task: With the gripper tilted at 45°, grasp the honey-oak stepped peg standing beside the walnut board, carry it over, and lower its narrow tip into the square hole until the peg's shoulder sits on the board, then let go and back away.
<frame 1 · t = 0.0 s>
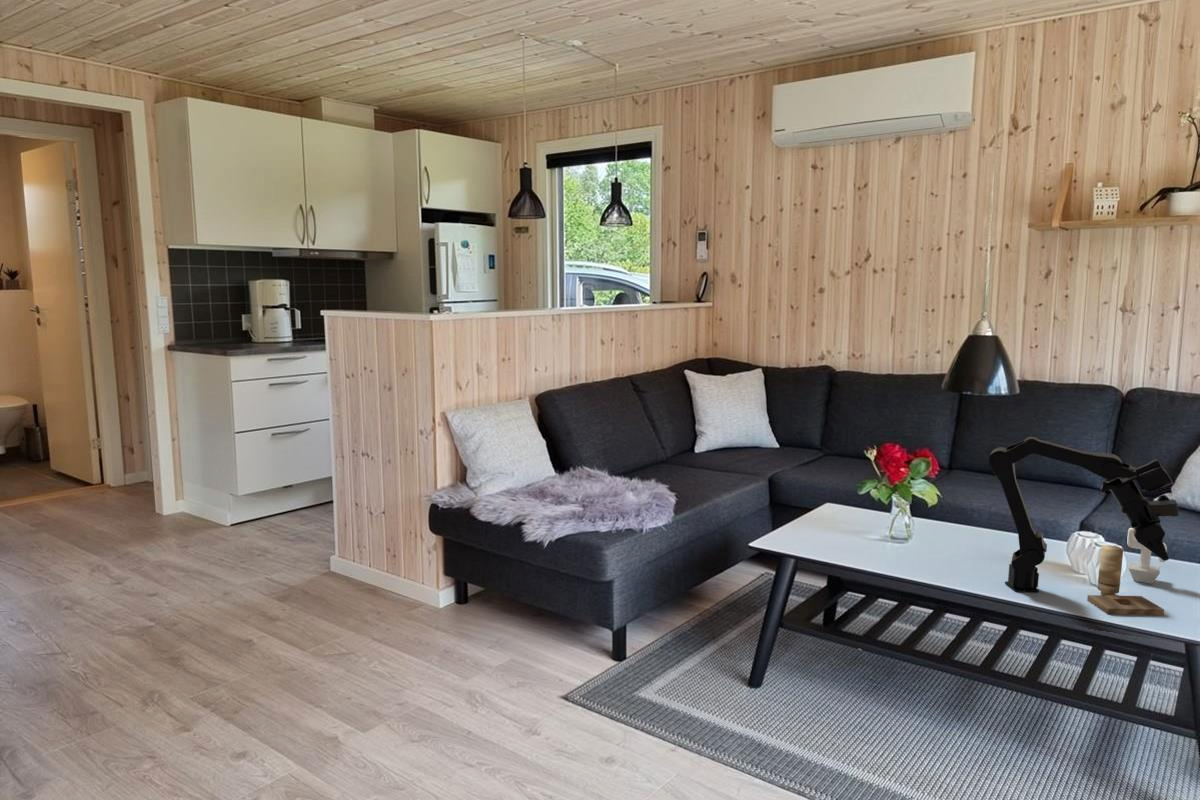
hand: (1164, 554, 207), 15 cm above the table, tool tilted 35°, fingers open, 9 cm apart
oak peg: (1107, 594, 220), on the table
figurine: (1143, 580, 231), on the table
walnut board: (1124, 607, 211), on the table
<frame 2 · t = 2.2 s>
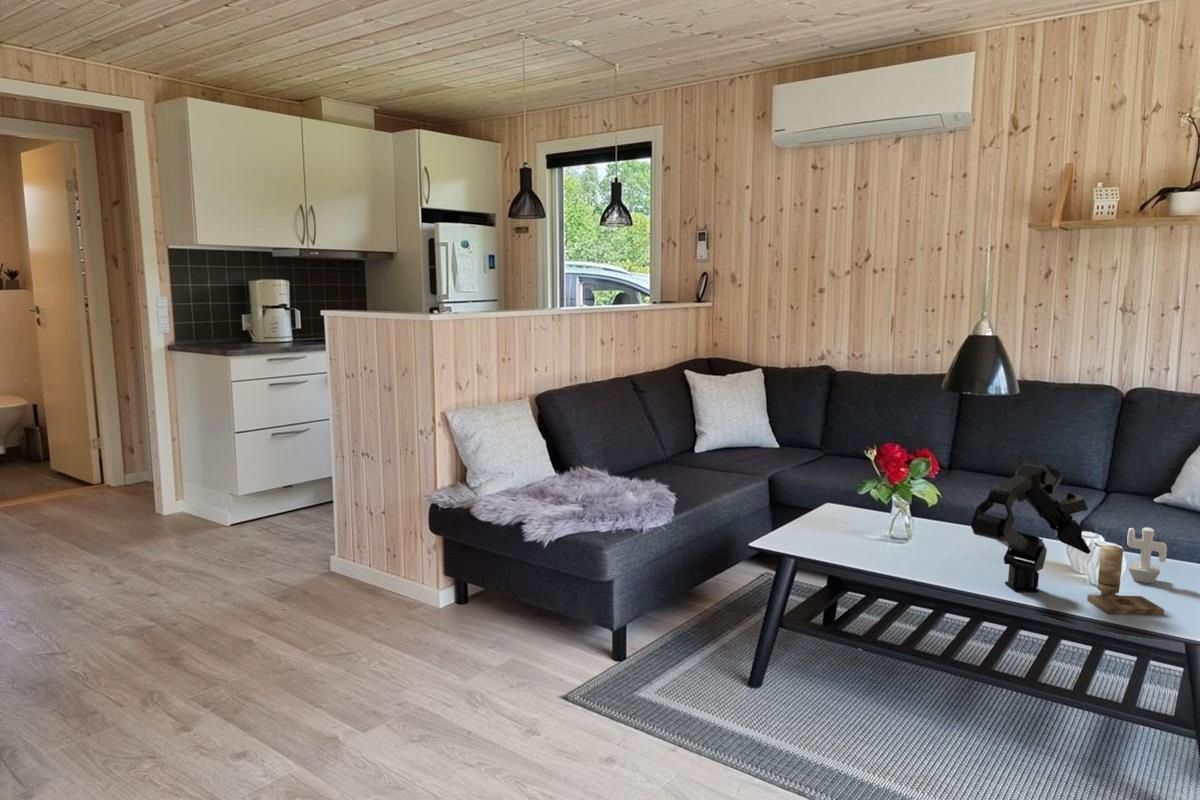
hand: (1085, 547, 221), 12 cm above the table, tool tilted 45°, fingers open, 9 cm apart
nothing on the table moved.
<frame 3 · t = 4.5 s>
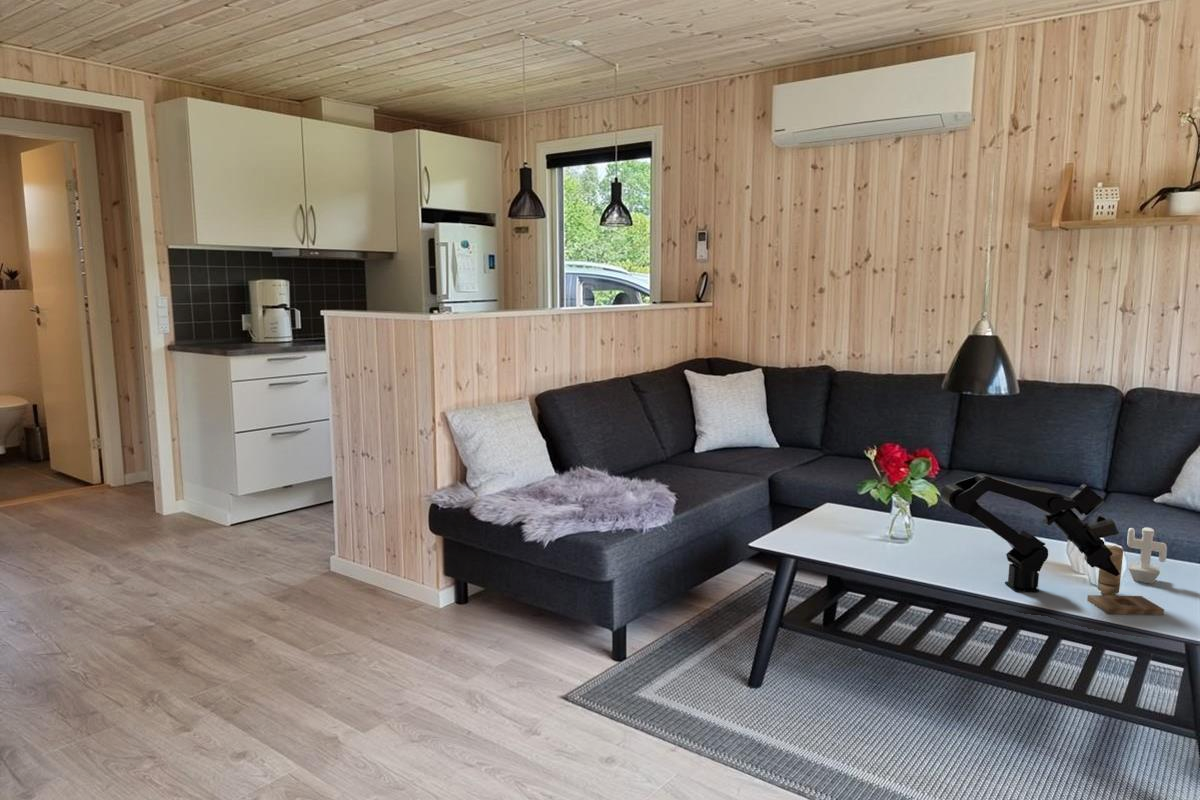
hand: (1116, 571, 218), 7 cm above the table, tool tilted 45°, fingers closed on oak peg, 5 cm apart
oak peg: (1107, 594, 220), on the table, touching gripper
everything else where it was.
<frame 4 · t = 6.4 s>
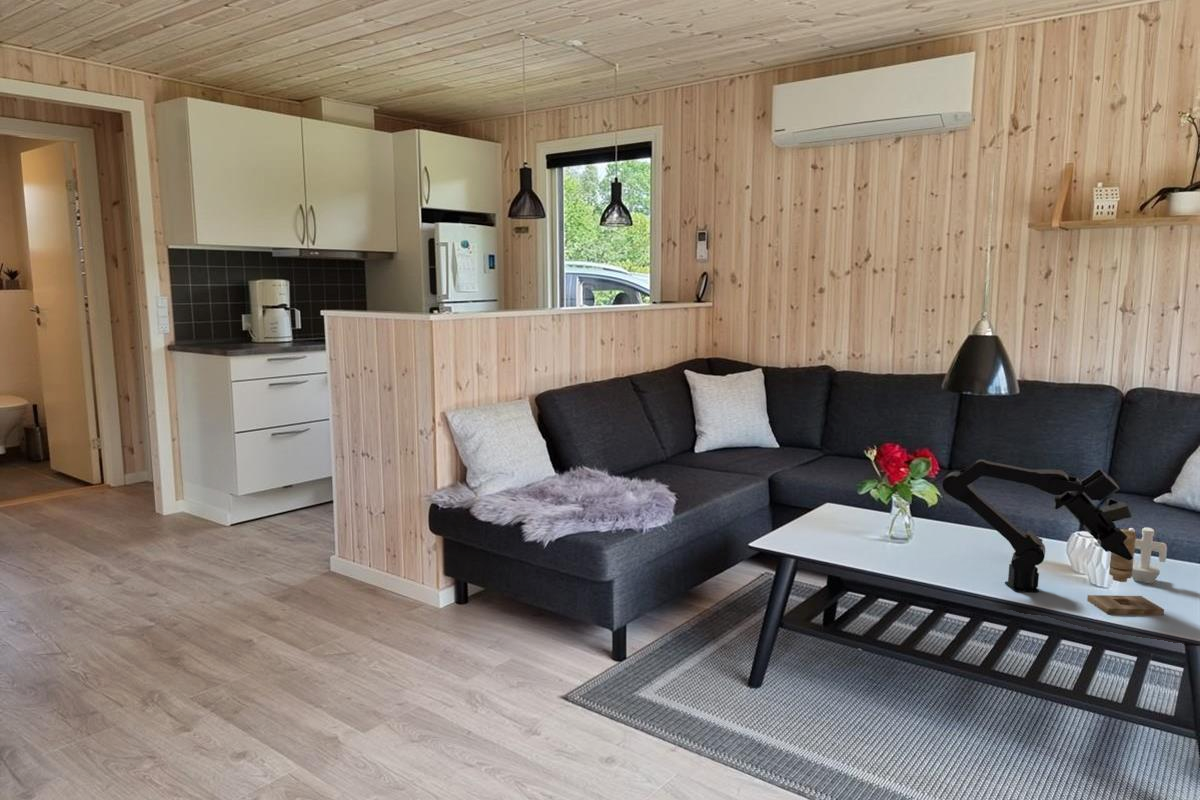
hand: (1128, 556, 213), 13 cm above the table, tool tilted 45°, fingers closed on oak peg, 5 cm apart
oak peg: (1119, 579, 214), point 6 cm above the table, touching gripper
everything else where it was.
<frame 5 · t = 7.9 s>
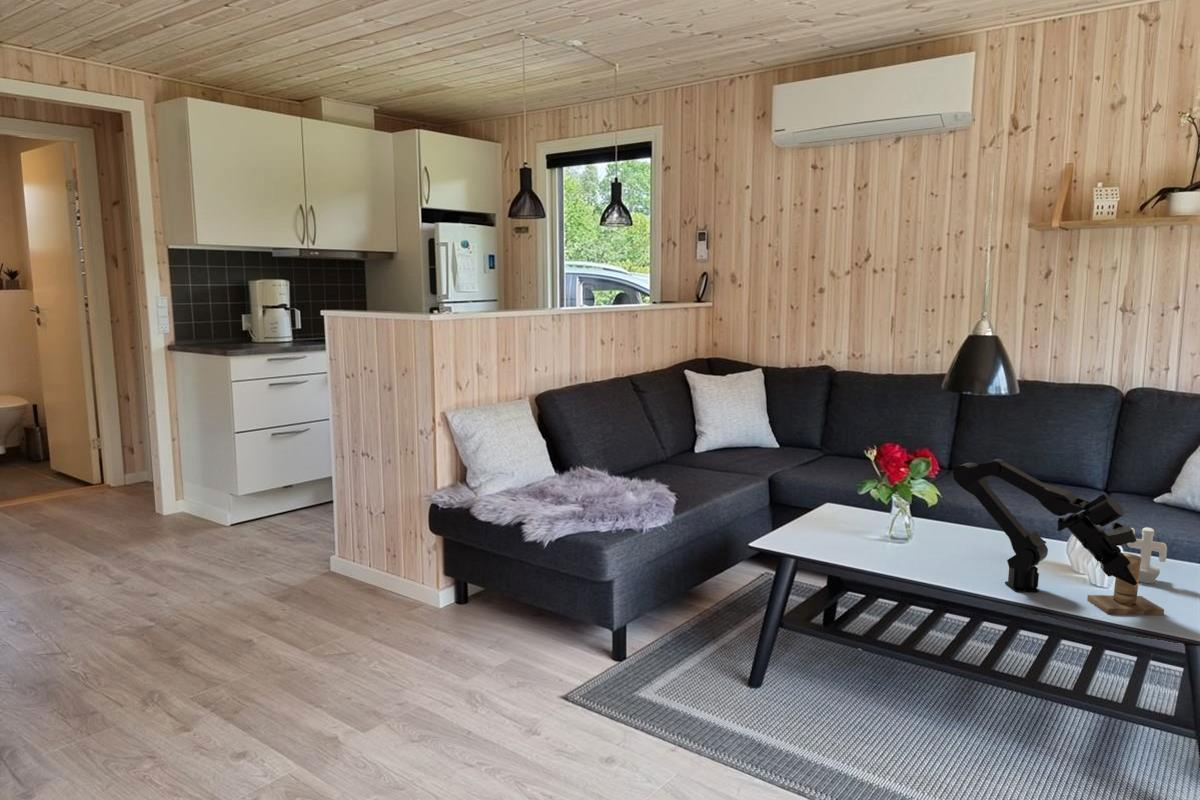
hand: (1133, 580, 209), 7 cm above the table, tool tilted 45°, fingers closed on oak peg, 5 cm apart
oak peg: (1124, 604, 211), point 1 cm above the table, touching gripper
everything else where it was.
when the fingers open (7 cm above the table, at t = 8.4 s): oak peg stays where it is, resting on walnut board.
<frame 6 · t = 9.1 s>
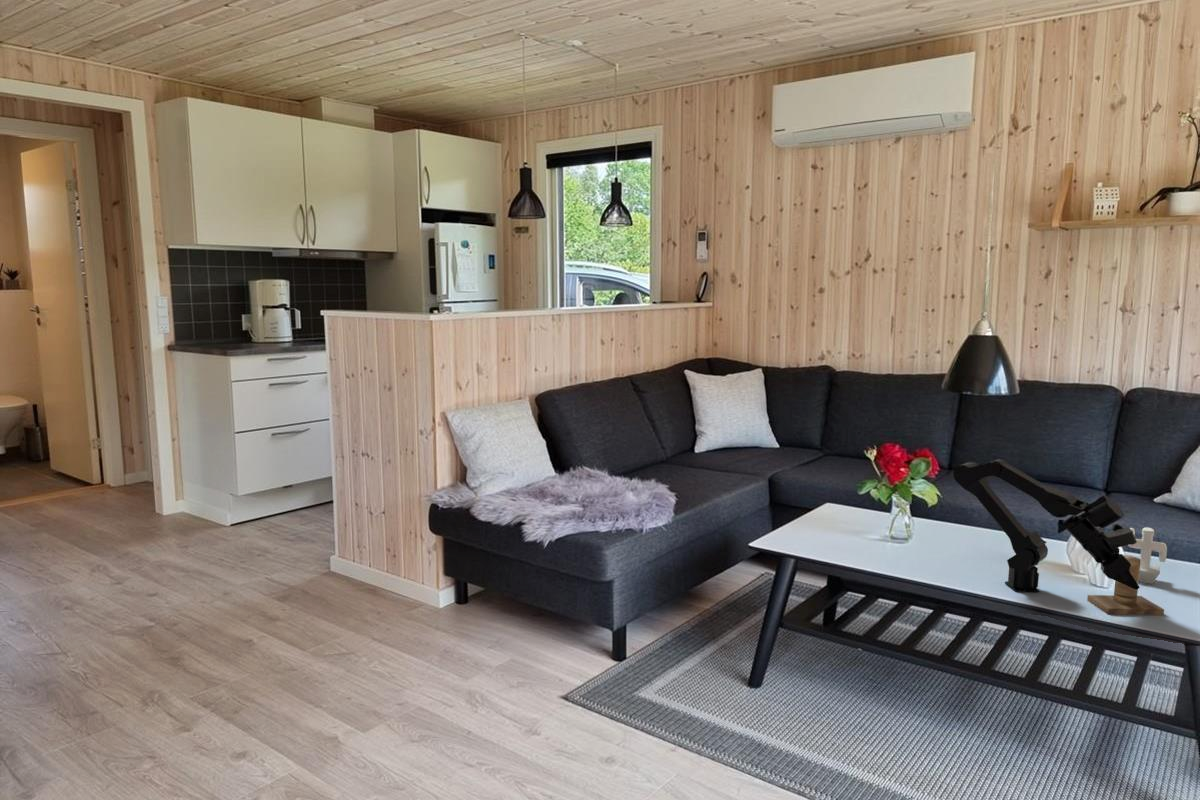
hand: (1133, 582, 209), 7 cm above the table, tool tilted 45°, fingers open, 9 cm apart
oak peg: (1124, 606, 211), resting on walnut board
everything else where it was.
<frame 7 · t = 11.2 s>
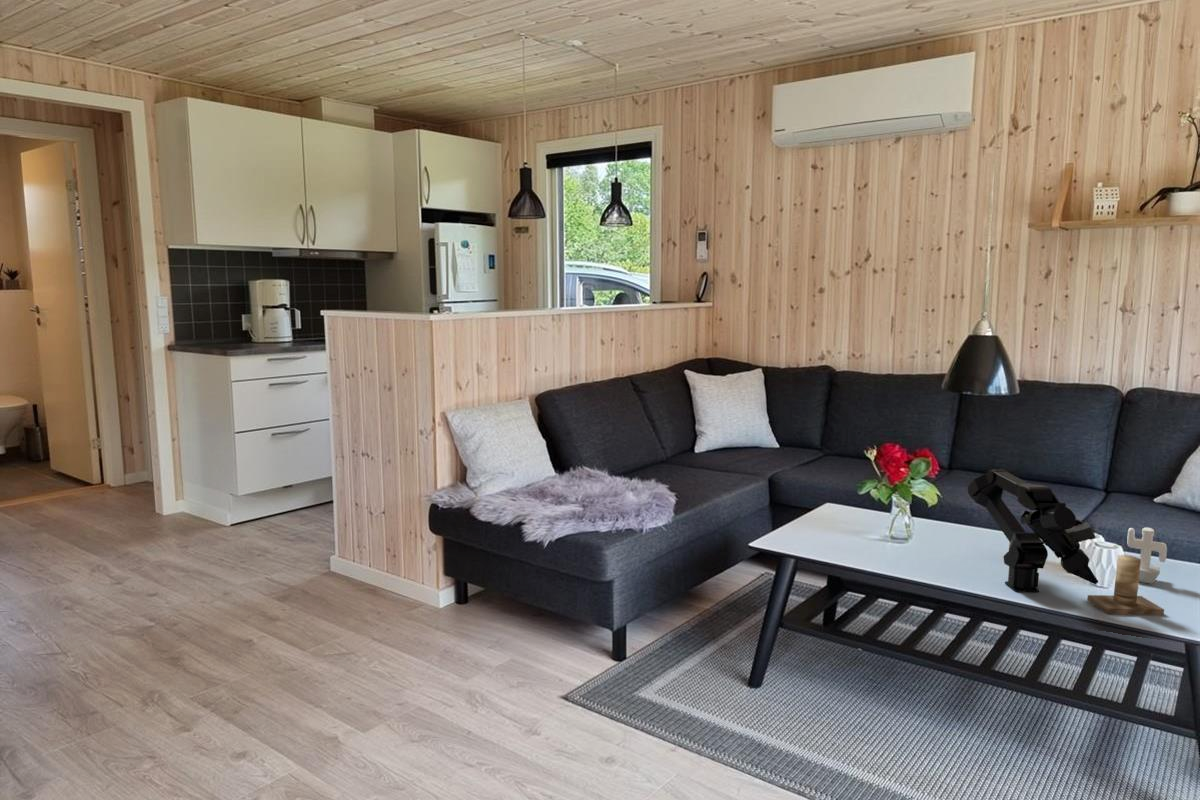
hand: (1093, 577, 213), 7 cm above the table, tool tilted 45°, fingers open, 9 cm apart
nothing on the table moved.
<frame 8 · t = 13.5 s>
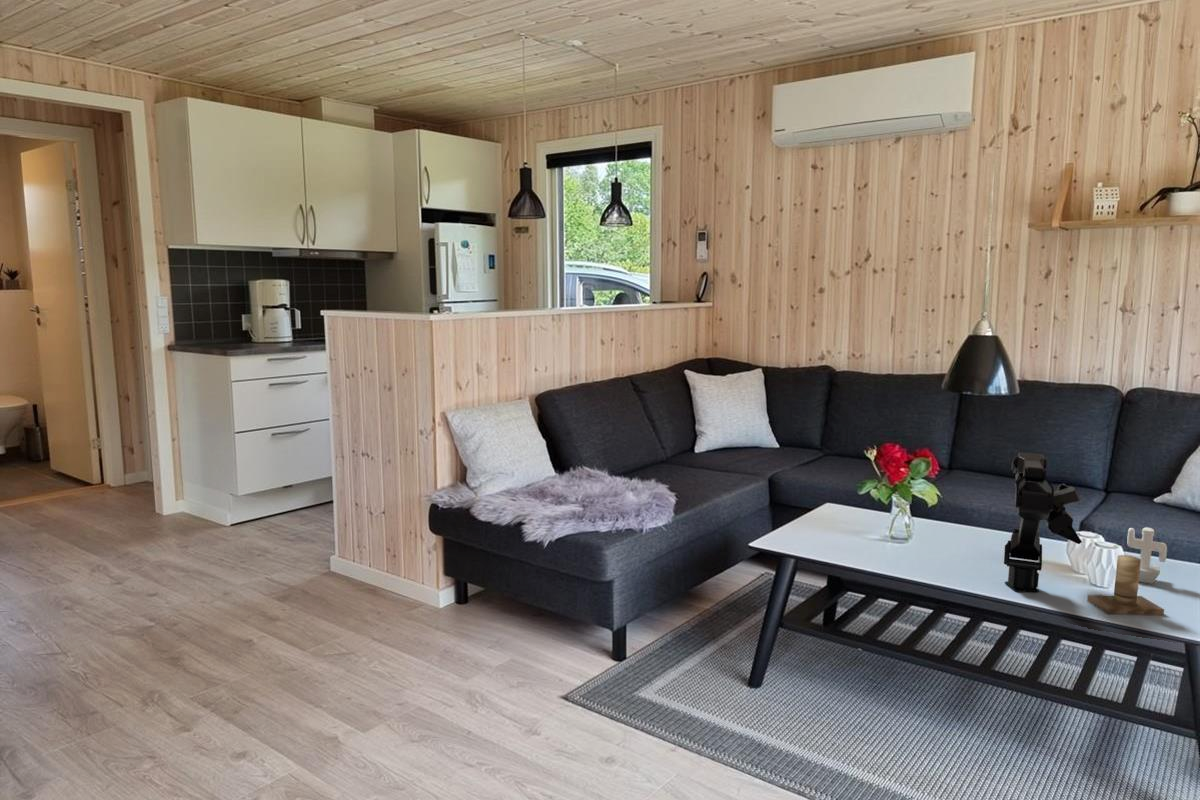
hand: (1077, 538, 224), 14 cm above the table, tool tilted 45°, fingers open, 9 cm apart
nothing on the table moved.
at the end: oak peg 0.1 cm from the walnut board (horizontally); oak peg resting in walnut board; oak peg tilted 0° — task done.
